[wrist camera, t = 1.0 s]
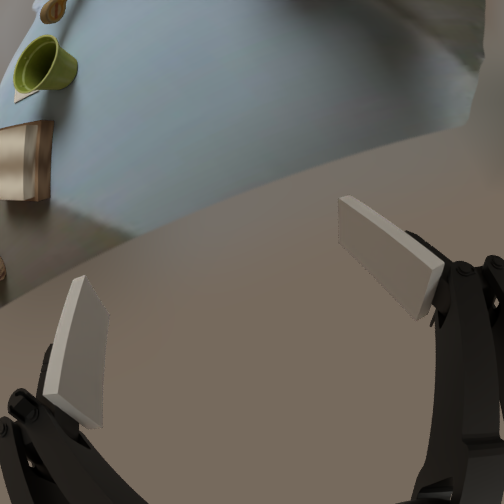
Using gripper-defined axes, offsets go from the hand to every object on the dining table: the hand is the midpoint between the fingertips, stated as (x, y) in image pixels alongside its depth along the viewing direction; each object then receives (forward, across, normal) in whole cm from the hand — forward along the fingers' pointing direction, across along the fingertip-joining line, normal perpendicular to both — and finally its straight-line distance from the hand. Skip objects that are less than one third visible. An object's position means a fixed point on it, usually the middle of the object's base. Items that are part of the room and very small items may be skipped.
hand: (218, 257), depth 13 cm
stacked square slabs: (+36, -28, +8) cm, 46 cm away
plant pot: (+37, -16, +19) cm, 45 cm away
